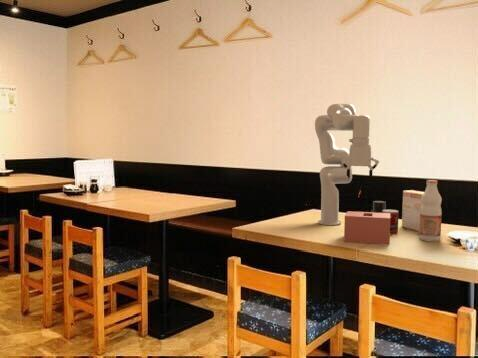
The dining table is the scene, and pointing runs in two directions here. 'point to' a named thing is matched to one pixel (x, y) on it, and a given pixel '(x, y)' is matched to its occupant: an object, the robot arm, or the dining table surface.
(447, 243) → the dining table surface
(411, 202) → the coffeecake box
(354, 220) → the box
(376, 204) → the ink bottle
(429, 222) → the fruit juice
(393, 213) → the canned food
